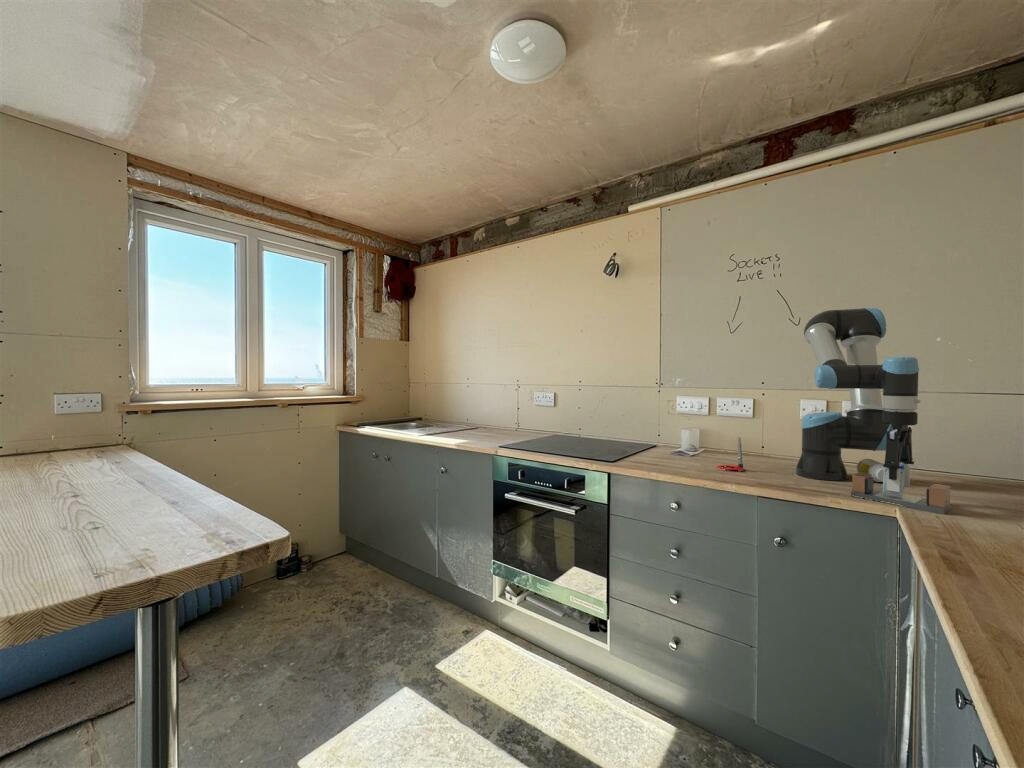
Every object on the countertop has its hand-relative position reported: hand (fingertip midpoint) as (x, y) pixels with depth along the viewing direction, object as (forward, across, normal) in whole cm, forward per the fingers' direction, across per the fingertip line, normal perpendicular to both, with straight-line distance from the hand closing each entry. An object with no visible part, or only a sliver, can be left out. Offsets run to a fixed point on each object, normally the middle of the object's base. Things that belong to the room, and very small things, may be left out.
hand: (898, 488), depth 122 cm
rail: (+4, 0, 0) cm, 4 cm away
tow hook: (+5, +3, +51) cm, 51 cm away
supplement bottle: (+1, +32, +16) cm, 36 cm away
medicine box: (+2, 0, +1) cm, 2 cm away
